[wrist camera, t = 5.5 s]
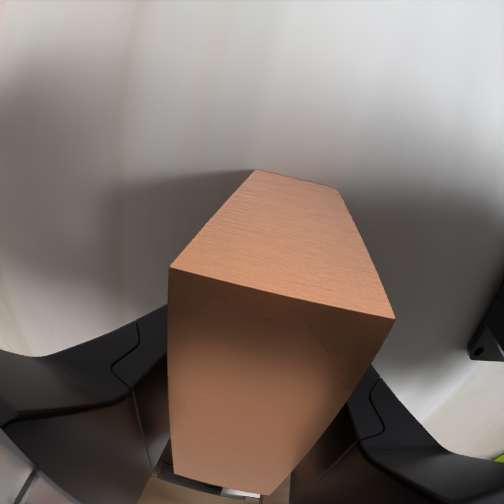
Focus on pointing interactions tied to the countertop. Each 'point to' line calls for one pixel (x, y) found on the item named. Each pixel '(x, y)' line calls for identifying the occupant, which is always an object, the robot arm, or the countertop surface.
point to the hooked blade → (267, 333)
